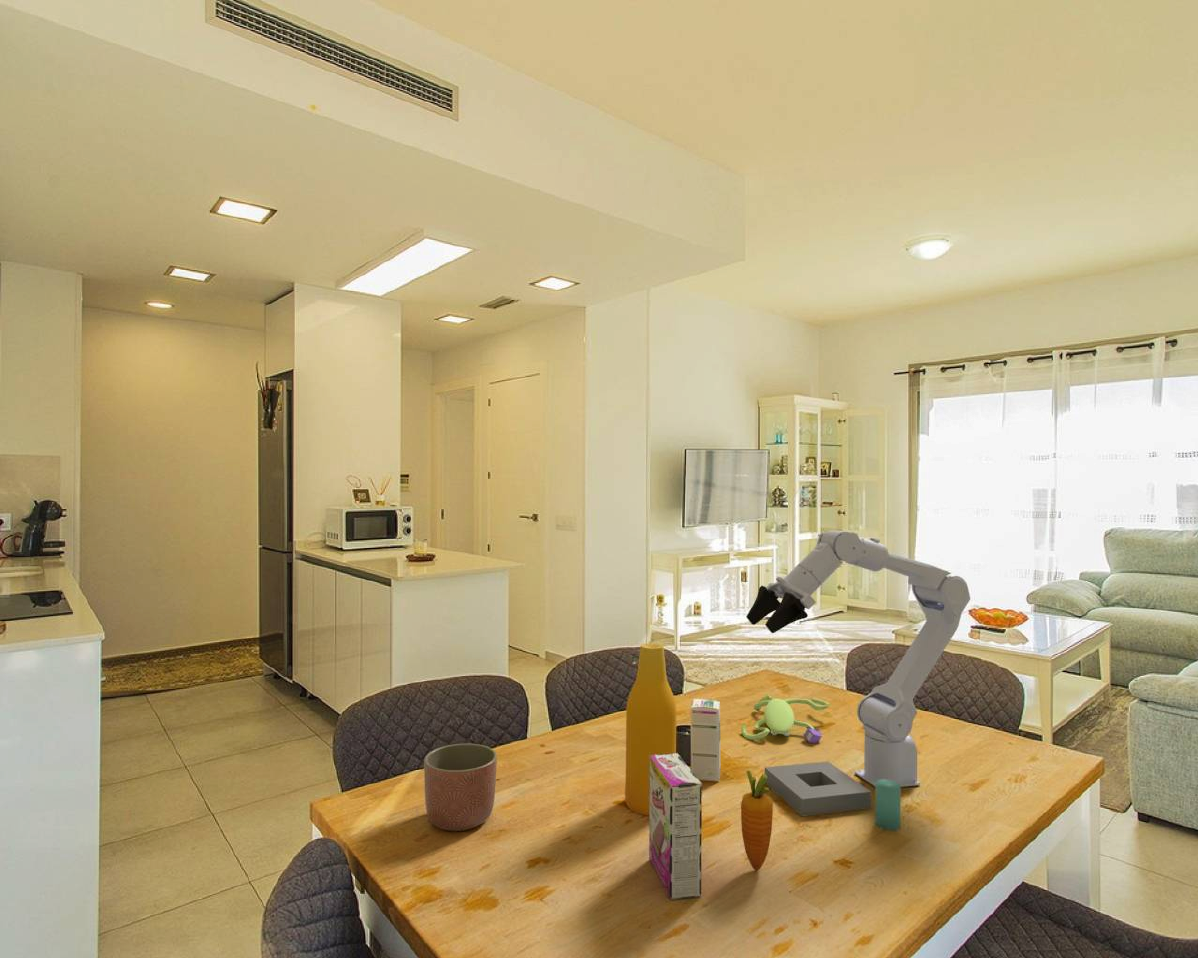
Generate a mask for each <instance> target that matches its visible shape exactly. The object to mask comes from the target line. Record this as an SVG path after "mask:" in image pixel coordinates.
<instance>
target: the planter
mask: <svg viewBox="0 0 1198 958" xmlns="http://www.w3.org/2000/svg"><path fill="white" fill-rule="evenodd" d="M497 758H498V753H497V752H496V751H495V750H494V749H493V748H491V747H490V746H486V745H482V744H478V743H455V744H448V745H445V746H440V747H437V748H435V749H433V750H431V751H430V752H428V753H427V754H426V756H425V757H424V760H423V770H424V772H423V773H424V775H423V776H424V801H425V810H426V814H427V817H428V820H429V821H430V822H431V824H432V825H433V826H435V827H437V828H439V829H441V830H445V831H451V832H455V831H456V832H457V831H459V832H460V831H466V830H471V829H474V828H477V827H478V826H481V825H482V824H484V822H486V821H487V820H488V819H489V818H490V815H491V814H492V812H493V809H494V804H495V797H496V784H497V782H496V781H497V762H498V759H497Z"/></svg>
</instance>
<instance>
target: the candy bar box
mask: <svg viewBox="0 0 1198 958" xmlns="http://www.w3.org/2000/svg"><path fill="white" fill-rule="evenodd" d="M649 758H650V781H649V782H650V784H649V788H650V789H649V791H650V794H649V795H650V797H649V799H650V814H649V817H648V818H649V824H648V825H649V827H648V829H649V834H648V835H649V845H648V846H649V847H648V849H649V850H648V851H649V852H648V853H649V855H648V859H649V861H650V863H651V864H652V867H653V868H654V870H655V872H656V874H657V876H658V877H659V879H660V882H661V883H662V885H663V887H664V890H665V891H666V893H667V895H668V898H669V899H670V901H675V900H682V899H683V900H685V899H690V898H698V897H700V898H701V897H702V829H703V828H702V821H703V820H702V817H703V816H702V806H703V805H702V803H703V802H702V799H703V797H702V795H703V794H702V793H703V792H702V790H703V789H702V788H703V783H702V782H701V780H698V778H697V777H696V776H695V775H694V773H693V772H692V771H691V767H689V766H688V765H687V763H686V762H685V761H684V759H683V758H682V757H681V755H679V753H678V752H676V753H674V754H661V755H657V754H656V755H651V756H649Z"/></svg>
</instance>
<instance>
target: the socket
mask: <svg viewBox="0 0 1198 958" xmlns="http://www.w3.org/2000/svg"><path fill="white" fill-rule="evenodd" d="M764 774H766V775H767V780H766V782H765V784H764V785H766V786H767V787H768V788H770V789H771V790H772V791H773V792H774V793H776V794H777V795H778V796H779V797H780V798H781V799H782V800H784V801H785V802H786V803H787V804H788V805H789V806H790V807H791V808H792V809H793V810H794V811H796V812H797V813H798V815H800V816H801V817H808V816H814V815H815V816H817V815H824V814H832V813H833V814H834V813H840V812H849V811H857V810H858V811H859V810H866V809H867V810H868V809H872V791H871V790H870V789H868V788H867V787H866V786H864V785H863V784H861V783H860V782H859V781H857V780H855V779H854V778H852V777H851V776H850V775H848V774H847V773H845V772H844V771H842V769H840V768H838V767H837V766H836V765H834V764H832V763H831V762H830V761H827V760H826V761H818V762H817V761H816V762H809V763H808V762H806V763H797V764H786V765H778V766H767V767H766V766H765V767H764Z"/></svg>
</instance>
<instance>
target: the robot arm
mask: <svg viewBox="0 0 1198 958" xmlns="http://www.w3.org/2000/svg"><path fill="white" fill-rule="evenodd" d="M844 562H845V563H846V564H849V565H852V566H855V567H858V568H861V569H864V570H867V571H868V570H869V571H872V572H879V571H882V570H883V569H886V570H889V571H892V572H895V573H898V574H901V575H903V576H906V577H908V579H907V583H908V585H911V591H912V593H913V594H912V595H913V596H914V597H915V600H916V601H917V603H918V605H919V607H920V608H921V610H922V612H923V614H924V615H925V619H926V621H925V622H924V624H923V626H922V627H921V628H920V630H919V632H918V634H917V635H916V636H915V638H914V639H913V642H912V643H911V644H910V645H909V647H908V649H907V651H906V652H905V653H904V655H903V657H902V658H901V660H900V662H898V664H897V666H896V667H895V669H894V671H893V673H892V674H891V675H890V678H889V679H888V680H887V681H886V683H883V684H880V685H878V686H875V687H873V689H872V690H871V691H870V693H869V694H868V695H865V696H864V697H863V698H861V700H860V701H859V703H858V704H857V708H856V713H857V718H858V720H859V722H860V723H861V724H862V729H863V730H864V746H863V747H864V748H863V749H864V750H863V751H864V753H863V754H864V756H863V757H864V759H863V761H864V763H863V765H864V766H863V767H864V768H863V769H857V770H854V773H855V774H856V775H857V776H858V777H860V778H861V779H862V780H864V781H866V782H867V783H869V785H872V786H873V787H874V788H876V781H877V780H880V779H886V780H891V781H895V782H897V783H898V784H900V786H901V788H906V787H914V786H920V785H921V782H920V781H918V748H917V745H916V743H915V739H913V737H912V736H911V735H910V733H911V731H912V728H913V723H914V719H915V717H916V715H917V714H918V710H917V708H916V706H915V702H914V700H913V699H914V698H915V696H916V695H917V694H918V692H919V691H920V688H921V687H922V686H923V684H924V682H925V681H926V679H927V678H928V676H929V675H930V673H931V671H932V670H933V668H934V667H935V665H936V663H937V662H938V660H939V658H940V657H941V655H942V654H943V652H944V651H945V649H946V648H947V647H948V646H947V645H949V643H950V641H951V639H952V638H953V637H954V635H955V633H956V631H957V630H958V627H960V626H959V625H960V621H961V617H962V613H963V612H964V610H965V609H966V607H967V605H968V604H969V602H970V600H971V596H970V595H971V594H970V592H969V591H970V590H969V587H968V583H967V582H966V580H965V579H964V578H963V577H962V576H959V575H955V574H954V575H951V574H952V572H949V571H948V570H946V569H942V568H940V567H937V566H934V565H932V564H929V563H925V562H923V561H919V560H915V559H912V558H907V557H904V556H900V555H897V554H894V553H890V552H889V551H888V548H887V546H886V545H884V544H882V543H880V539H877V538H873V537H871V538H869V539H867V538H865V537H861V536H859V533H856V532H852V531H843V530H835V529H830V530H827V531H825V532H824V533H823V532H821V533H820V534H819V536H818V538H817V542H816V546H815V547H814V548H813V549H812V550H811V551H810V552H809V553H808V554H807V555H806V556H805V557H804V558H803V559H802V560H801V561H800V562H799V563H798V564H797V565H796V566H795V567H794V568H793V569H792V570H791V571H790V572H789V573H788V574H787V575H786V576H784V578H783V577H781V576H777V577H776V578H775V580H776V582H773V583H772V582H769V584H768V585H767V586H764V585H761V586H760V587H759V588H758V592H757V595H756V598H755V600H754V603H753V604H752V606H751V608H750V609H749V611H748V612H747V614H746V617H745V618H747V620H748V622H749V623H750V624H751V625H753V626H755V625H757V624H758V623H759V622H761V621H762V620H763V619H765V617H767V616H768V615H769V614H771V613H772V614H771V616H770V617H769V618H768V619H767V621H766V623H765V624H764V625H765V627H766V628H767V630H768V631H769V632H770V633H771V634H774V633H777V632H778V631H780V630H781V629H783V628H785V627H786V626H788V625H790V624H793V623H795V622H797V621H800V620H803V619H807V618H808V616H809V614H808V613H807V612H806V611H805V610H806V609H808V610H810V609H811V608H812V607H813V606H814V605H815V604H816V602H817V601H815V599H814V598H813V597H812V595H813V594H814V593H815V592H816V591H817V590H818V589H819V588H820V586H822V585H823V583H825V581H827V580H828V579H829V578H830V576H832V574H833V573H835V571H837V570H838V569H839V567H841V565H843V563H844ZM779 599H781V601H779Z"/></svg>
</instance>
